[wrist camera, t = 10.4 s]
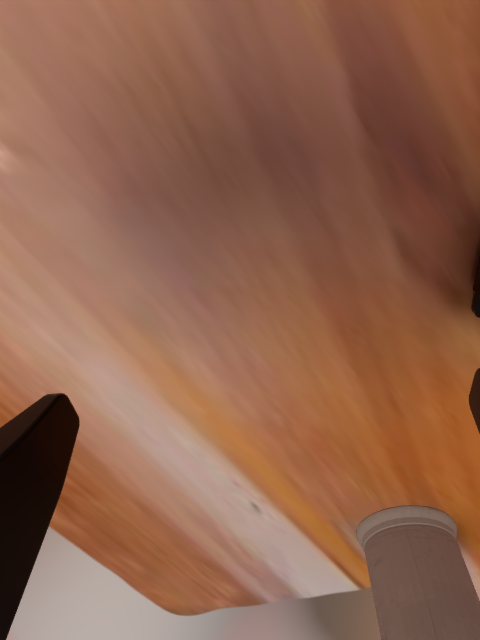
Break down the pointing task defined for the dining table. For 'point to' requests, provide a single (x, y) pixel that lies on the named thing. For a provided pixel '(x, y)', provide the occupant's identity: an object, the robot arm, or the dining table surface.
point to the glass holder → (419, 575)
